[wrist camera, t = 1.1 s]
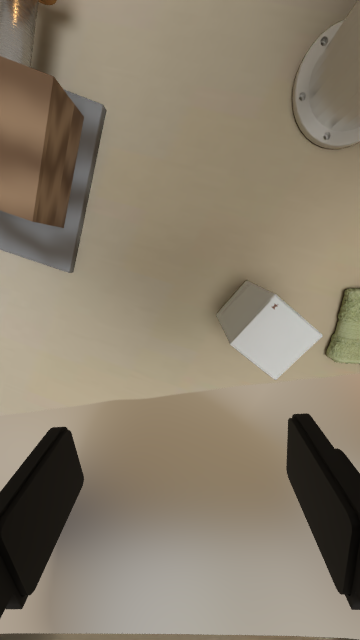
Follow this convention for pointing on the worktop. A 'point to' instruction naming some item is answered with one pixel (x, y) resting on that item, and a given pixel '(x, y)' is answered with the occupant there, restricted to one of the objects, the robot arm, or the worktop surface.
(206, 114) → the worktop surface
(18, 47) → the shaft
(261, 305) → the supplement box
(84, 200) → the bearing block
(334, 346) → the washcloth
